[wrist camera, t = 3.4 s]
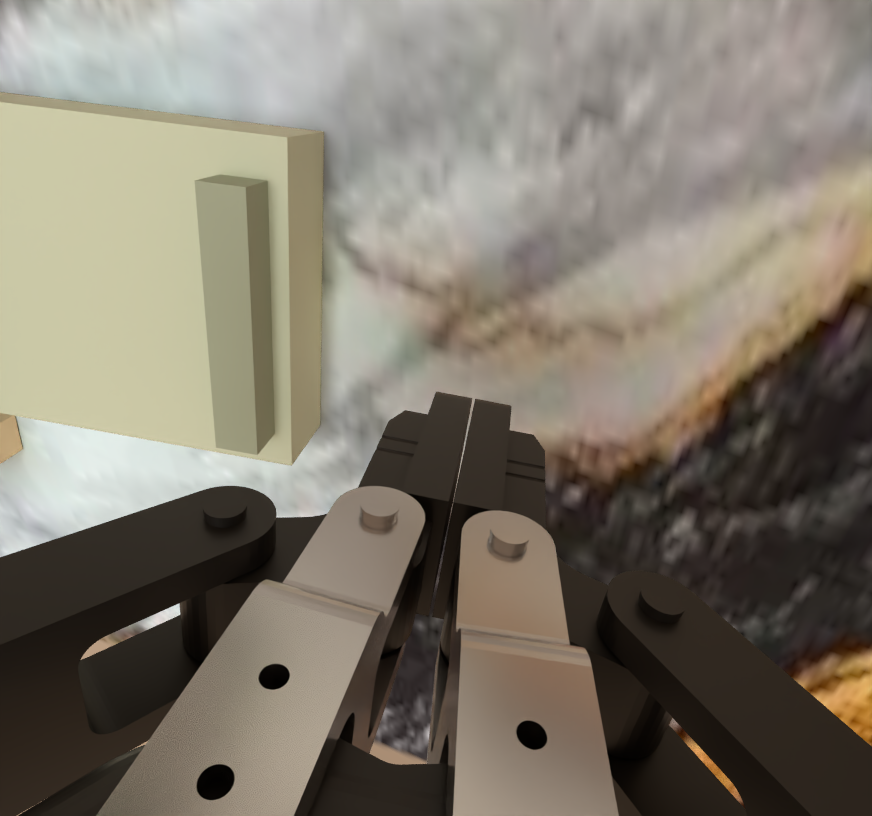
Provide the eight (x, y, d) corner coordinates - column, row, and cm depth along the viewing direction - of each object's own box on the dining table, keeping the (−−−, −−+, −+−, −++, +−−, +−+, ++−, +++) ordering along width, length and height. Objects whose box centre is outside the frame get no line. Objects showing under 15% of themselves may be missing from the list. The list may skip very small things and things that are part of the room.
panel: (329, 130, 17) (265, 140, 13) (324, 419, 21) (275, 488, 17) (-36, 86, 18) (-189, 84, 14) (29, 368, 22) (-77, 423, 18)
